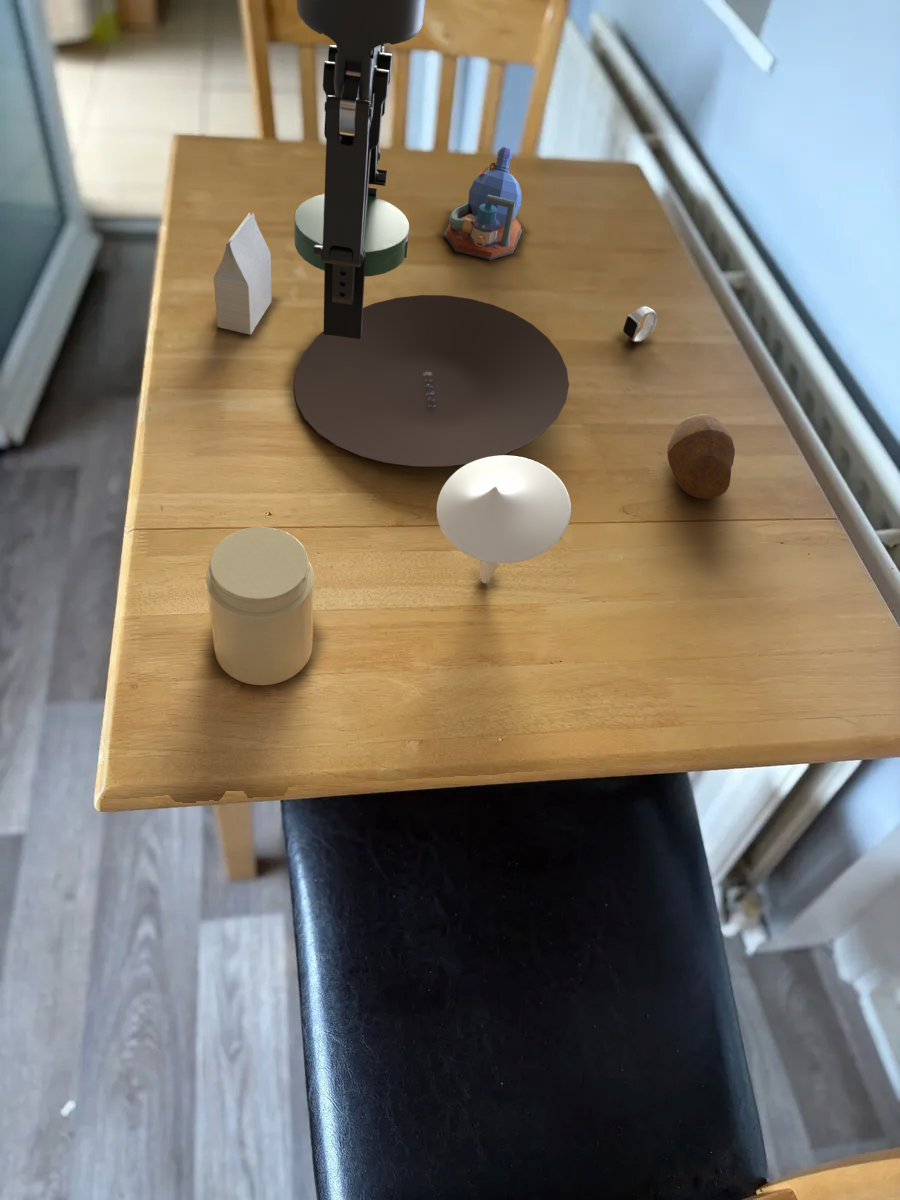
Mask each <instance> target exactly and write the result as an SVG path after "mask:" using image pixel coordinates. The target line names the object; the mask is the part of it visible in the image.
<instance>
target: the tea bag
mask: <svg viewBox="0 0 900 1200" xmlns="http://www.w3.org/2000/svg"><path fill="white" fill-rule="evenodd" d="M271 262H272V259H271V251H270V248H269V247H268V245H267V242H266V240H265V238H264V236H263V233H262V232H261V229H260V228H259V224H258V222H257V220H256V216H255V213H254V212H252V213H251V212H249V213H248V214H247V215H246V216H245V217H244V219H243V220H242V221H241V223H240V224H239V226H238V227H237V229H236V230H235V231H234V233H233V234H232V235H231V237H230V238H229V239H228V240H227V242H226V243H225V249H224V253H223V256H222V259H221V261H220V263H219V265H218V267H217V270H216V271H215V274H214V275H213V285H214V287H213V288H214V299H215V301H214V302H215V312H216V324H217V325H216V327H217V328H220V329H224V330H229V331H232V332H237V333H241V334H245V335H250V336H252V335H253V334H252V333H253V332H254V330H255V329H256V327H257V326H258V324H259V322H260V321H261V319H262V318H263V316H264V314H265V313H266V311H267V310H268V308H269V306H270V305H271V304H272V301H273V300H272V265H271V264H272V263H271Z"/></svg>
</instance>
